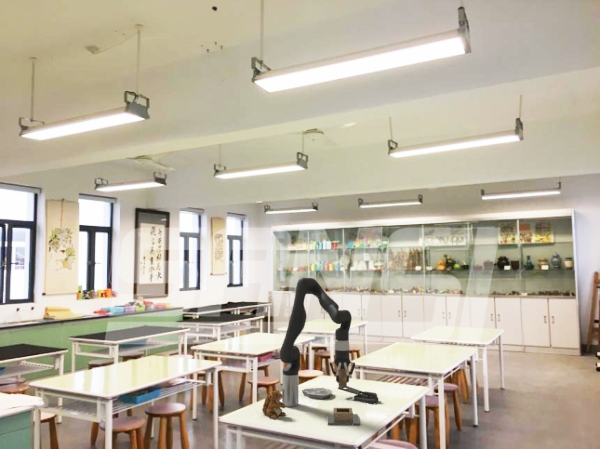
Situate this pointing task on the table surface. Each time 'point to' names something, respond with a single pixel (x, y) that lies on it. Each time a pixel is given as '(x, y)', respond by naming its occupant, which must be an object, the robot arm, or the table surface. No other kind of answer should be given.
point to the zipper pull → (362, 395)
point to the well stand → (343, 417)
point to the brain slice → (317, 393)
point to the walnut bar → (342, 378)
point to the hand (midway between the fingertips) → (342, 382)
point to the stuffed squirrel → (273, 405)
